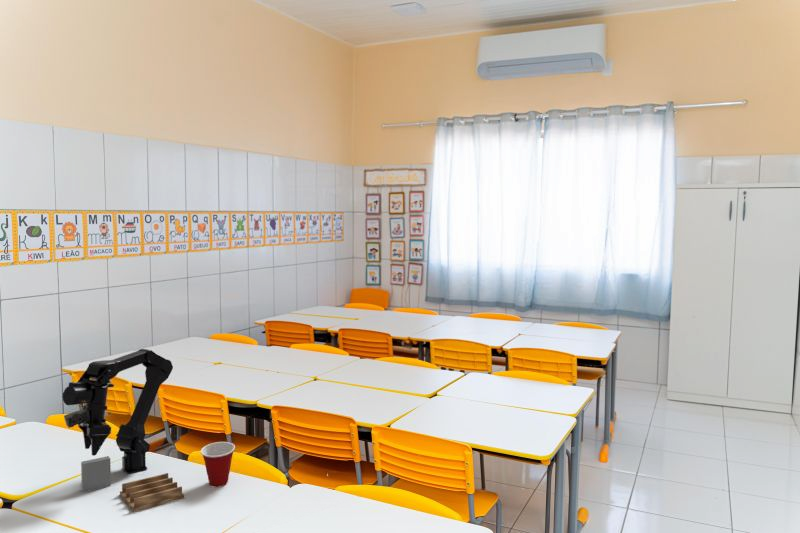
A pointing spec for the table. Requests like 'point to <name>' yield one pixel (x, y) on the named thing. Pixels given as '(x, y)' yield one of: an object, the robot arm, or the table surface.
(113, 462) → the table surface
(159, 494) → the rack
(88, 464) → the slate
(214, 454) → the plastic cup
